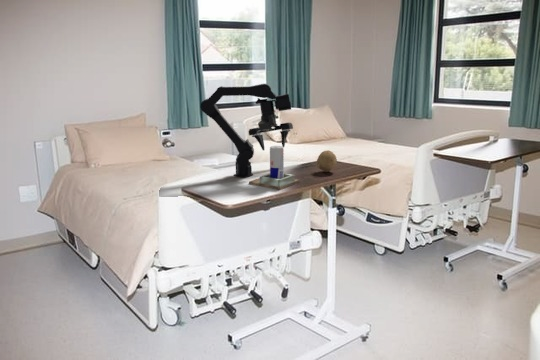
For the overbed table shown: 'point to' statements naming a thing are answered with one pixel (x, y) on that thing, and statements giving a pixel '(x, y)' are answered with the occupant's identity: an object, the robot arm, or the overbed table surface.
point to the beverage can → (276, 162)
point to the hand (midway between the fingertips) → (273, 148)
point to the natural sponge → (326, 161)
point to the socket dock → (275, 181)
